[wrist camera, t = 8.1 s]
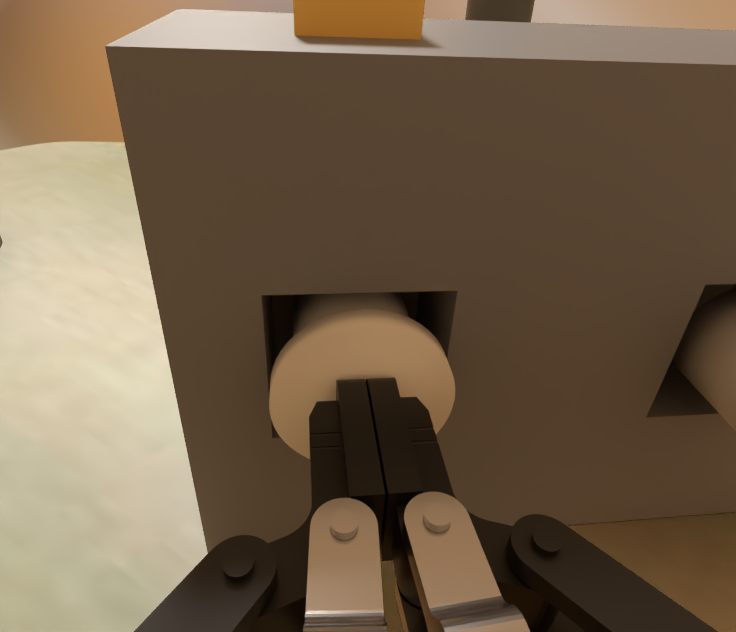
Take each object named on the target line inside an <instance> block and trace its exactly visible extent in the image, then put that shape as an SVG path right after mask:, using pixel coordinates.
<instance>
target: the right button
mask: <svg viewBox="0 0 736 632" xmlns="http://www.w3.org/2000/svg"><path fill="white" fill-rule="evenodd" d="M673 362H674V364H675V366H676V367H677V368H678V370H679V371H680V372H681V373H682V374H683V375H684V376H685V377H686V378H687V379H688V380H689V381H690V382H691V384H692V385H693V386H694V387H695V388H696V389H697V390H698V391H699V392H700V393H701V394H702V395H703V396H704V398H705V399H706V400H707V401H708V402H709V403H710V404H711V405H712V406H713V407H714V408H715V409H716V410H717V412H718V413H719V414H720V415H721V416H722V417H723V418H724V419H725V420H726V421H727V422H728V423H729V424H730V425H731V427H732V428H733V429H734V430H735V431H736V289H733V290H729V291H727V292H724V293H722V294H720V295H718V296H716V297H714V298H712V299H710V300H709V301H707V302H706V303H704V304H703V305H702V306H700V307H699V308H698V309H697V310H695V311H694V312H693V314H692V316H691V318H690V321H689V323H688V325H687V327H686V330H685V332H684V334H683V336H682V339H681V341H680V343H679V345H678V347H677V350H676V352H675V354H674V356H673Z"/></svg>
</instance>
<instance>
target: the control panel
mask: <svg viewBox="0 0 736 632" xmlns="http://www.w3.org/2000/svg"><path fill="white" fill-rule="evenodd" d="M424 3H425V0H293V6H294V13H293V14H292V13H268V12H241V11H216V10H215V11H214V10H189V9H178V10H176V11H174V12H172V13H170V14H168V15H166V16H164V17H162V18H160V19H158V20H156V21H154V22H152V23H150V24H148V25H146V26H144V27H142V28H140V29H138V30H136V31H134V32H132V33H130V34H128V35H126V36H124V37H122V38H120V39H118V40H116V41H114V42H112V43H111V44H108V45H106V46H105V48H106V53H107V58H108V63H109V68H110V73H111V77H112V82H113V87H114V92H115V97H116V102H117V107H118V112H119V117H120V122H121V127H122V131H123V137H124V142H125V146H126V151H127V156H128V161H129V166H130V171H131V176H132V181H133V186H134V191H135V196H136V201H137V206H138V211H139V215H140V220H141V225H142V230H143V235H144V240H145V245H146V250H147V255H148V260H149V265H150V270H151V275H152V280H153V285H154V289H155V294H156V299H157V304H158V309H159V314H160V319H161V324H162V329H163V334H164V339H165V344H166V349H167V354H168V358H169V363H170V368H171V373H172V378H173V383H174V388H175V393H176V398H177V403H178V408H179V413H180V418H181V423H182V427H183V432H184V437H185V442H186V447H187V452H188V457H189V462H190V467H191V472H192V477H193V482H194V487H195V492H196V497H197V501H198V506H199V511H200V516H201V521H202V526H203V531H204V536H205V541H206V546H207V551H208V553H209V552H210V551H211V550H212V549H213V548H214V547H215V546H216V545H218V544H219V543H221V542H222V541H224V540H226V539H228V538H231V537H234V536H239V535H251V536H255V537H258V538H260V539H262V540H264V541H265V542H267V543H270V542H272V541H275V540H277V539H280V538H282V537H285V536H287V535H289V534H291V533H293V532H294V531H296V530H297V529H298V528H299V527H300V526H301V525H302V524H303V523H304V522H305V521H306V519H307V518H308V516H309V513H310V511H311V507H312V503H311V476H310V459H308V458H306V457H304V456H302V455H301V454H299V453H297V452H296V451H295V450H293V449H292V448H290V447H289V446H288V445H287V444H286V443H285V442H284V441H283V440H282V438H281V437H280V436H279V435H278V433H277V431H276V429H275V428H274V425H273V423H272V420H271V416H270V410H269V397H270V378H271V373H272V368H273V366H274V363H275V360H276V358H277V357H278V355H279V353H280V351H281V350H282V349H283V347H284V346H285V345H286V343H287V342H288V341H289V340H290V339H291V338H292V337H293V297H294V295H298V294H340V293H382V292H401V293H402V296H403V299H404V302H405V306H406V309H407V312H408V315H409V318H411V319H413V320H415V321H416V322H418V323H420V324H421V325H423V326H424V327H425V328H427V329H428V330H429V331H430V332H431V333H432V334H433V335H434V336H435V337H436V339H437V340H438V342H439V343H440V345H441V346H442V348H443V351H444V353H445V355H446V358H447V360H448V363H449V366H450V368H451V371H452V374H453V378H454V381H455V400H454V404H453V408H452V410H451V413H450V415H449V417H448V419H447V420H446V422H445V424H444V425H443V427H442V428H441V429H440V430H439V432H438V433H437V434H436V437H437V442H438V443H439V447H440V450H441V453H442V457H443V460H444V463H445V467H446V470H447V473H448V477H449V480H450V483H451V487H452V490H453V493H454V495H455V497H456V499H457V500H458V501H459V502H460V503H461V504H462V505H463V506H464V507H465V509H466V510H467V511H469V512H470V513H472V514H473V515H475V516H477V517H479V518H482V519H485V520H488V521H493V522H497V523H502V524H506V525H510V526H513V525H514V524H515V523H516V521H517V520H519V519H520V518H522V517H524V516H526V515H531V514H541V515H546V516H549V517H552V518H554V519H557V520H558V521H560V522H562V523H563V524H565V525H577V524H589V523H602V522H614V521H627V520H639V519H652V518H664V517H677V516H689V515H702V514H714V513H727V512H736V431H735V430H734V429H733V428H732V427H731V425H730V424H729V423H728V422H727V421H726V420H725V419H724V418H723V417H722V416H721V415H720V414H719V413H718V412H717V410H716V409H715V408H714V407H713V406H712V405H711V404H710V403H709V402H708V401H707V400H706V399H705V398H704V396H703V395H702V394H701V393H700V392H699V391H698V390H697V389H696V388H695V387H694V386H693V385H692V384H691V382H690V381H689V380H688V379H687V378H686V377H685V376H684V375H683V374H682V373H681V372H680V371H679V370H678V368H677V367H676V366H675V364H674V362H673V356H674V354H675V352H676V350H677V347H678V345H679V343H680V341H681V339H682V336H683V334H684V332H685V330H686V327H687V325H688V323H689V321H690V318H691V316H692V314H693V312H694V311H695V310H697V309H698V308H699V307H700V306H702V305H703V304H704V303H706V302H707V301H709V300H710V299H712V298H714V297H716V296H718V295H720V294H722V293H724V292H727V291H729V290H733V289H736V30H735V31H733V30H710V29H684V28H657V27H631V26H606V25H605V26H604V25H579V24H554V23H528V22H502V21H476V20H450V19H424V18H423V14H424Z"/></svg>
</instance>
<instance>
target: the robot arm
mask: <svg viewBox="0 0 736 632" xmlns="http://www.w3.org/2000/svg"><path fill="white" fill-rule="evenodd" d="M309 442H310V476H311V503H312V507H311V511H310V513H309V516H308V518H307V519H306V521H305V522H304V523H303V524H302V525H301V526H300V527H299V528H298V529H297V530H296V531H294V532H293V533H291V534H289V535H287V536H285V537H282V538H280V539H277V540H275V541H272V542H270V543H267V542H265V541H264V540H262V539H260V538H258V537H255V536H251V535H239V536H234V537H231V538H228V539H226V540H224V541H222V542H221V543H219V544H218V545H216V546H215V547H214V548H213V549H212V550H211V551H210V552H209V553H208V554H207V555H206V556H205V557H204V558H203V560H202V561H201V562H200V563H199V564H198V565H197V566H196V567H195V568H194V569H193V570H192V571H191V572H190V573H189V574H188V575H187V576H186V577H185V578H184V579H183V581H182V582H181V583H180V584H179V585H178V586H177V587H176V588H175V589H174V590H173V591H172V592H171V593H170V594H169V595H168V596H167V597H166V598H165V599H164V601H163V602H162V603H161V604H160V605H159V606H158V607H157V608H156V609H155V610H154V611H153V612H152V613H151V614H150V615H149V616H148V617H147V618H146V619H145V620H144V622H143V623H142V624H141V625H140V626H139V627H138V628H137V629H136V630H135V631H134V632H388V628H387V623H386V622H385V619H384V609H383V594H382V578H381V563H380V552H381V559H382V561H388V560H393V562H394V568H395V574H396V582H395V598H396V602H397V606H398V610H399V614H400V618H401V623H402V627H403V631H404V632H717V631H716V630H714V629H713V628H712V627H710V626H709V625H707V624H706V623H704V622H703V621H702V620H700V619H699V618H697V617H696V616H694V615H693V614H692V613H690V612H689V611H687V610H686V609H684V608H683V607H682V606H680V605H679V604H677V603H676V602H674V601H673V600H672V599H670V598H669V597H667V596H666V595H664V594H663V593H662V592H660V591H659V590H657V589H656V588H654V587H653V586H652V585H650V584H649V583H647V582H646V581H644V580H643V579H642V578H640V577H639V576H637V575H636V574H635V573H633V572H632V571H630V570H629V569H627V568H626V567H625V566H623V565H622V564H620V563H619V562H617V561H616V560H615V559H613V558H612V557H610V556H609V555H607V554H606V553H605V552H603V551H602V550H600V549H599V548H597V547H596V546H595V545H593V544H592V543H590V542H589V541H587V540H586V539H585V538H583V537H582V536H580V535H579V534H577V533H576V532H575V531H573V530H572V529H570V528H569V527H567V526H566V525H565V524H563V523H562V522H560V521H558V520H557V519H554V518H552V517H549V516H546V515H541V514H531V515H526V516H524V517H522V518H520V519H519V520H517V521H516V523H515V524H514V525H513V526H510V525H506V524H502V523H497V522H493V521H488V520H485V519H482V518H479V517H477V516H475V515H473V514H472V513H470V512H469V511H467V510H466V509H465V507H464V506H463V505H462V504H461V503H460V502H459V501H458V500H457V499H456V497H455V495H454V493H453V490H452V487H451V483H450V480H449V477H448V473H447V470H446V467H445V463H444V460H443V457H442V453H441V450H440V447H439V443H438V442H437V437H436V433H435V430H434V429H433V423H432V420H431V417H430V413H429V410H428V409H427V408H426V407H425V406H424V405H423V404H422V402H421V401H420V400H419V399H418V398H417V397H400V394H399V390H398V386H397V382H396V379H395V378H394V377H391V378H368V379H366V381H365V379H348V380H336V401H317V402H316V404H315V406H314V408H313V410H312V412H311V414H310V416H309Z"/></svg>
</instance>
